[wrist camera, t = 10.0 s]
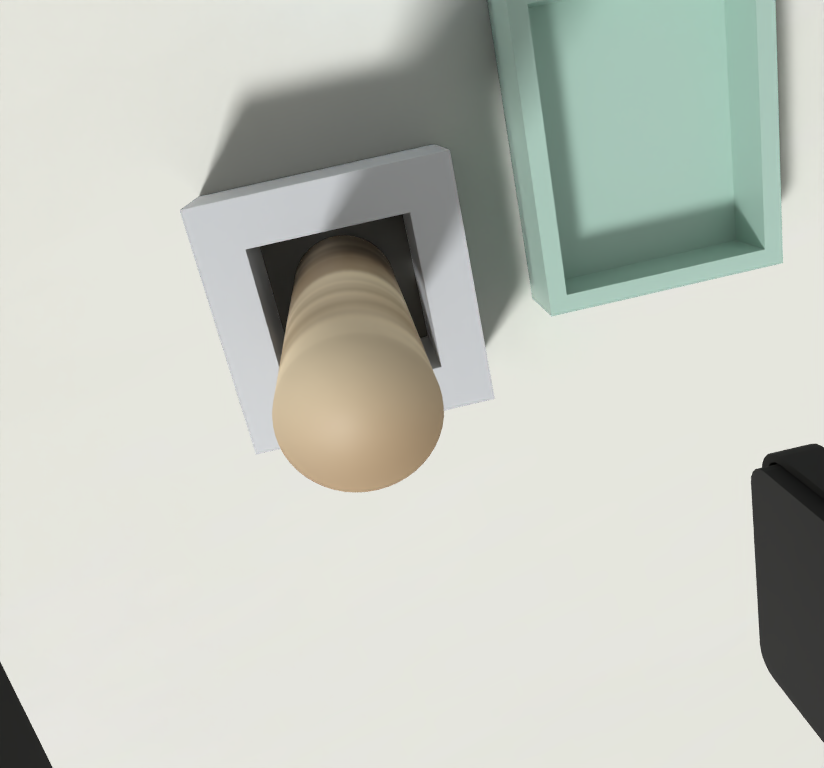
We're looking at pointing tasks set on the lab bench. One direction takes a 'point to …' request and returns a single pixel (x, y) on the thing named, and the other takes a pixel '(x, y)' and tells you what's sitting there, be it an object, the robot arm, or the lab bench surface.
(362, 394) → the dowel
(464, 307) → the socket block
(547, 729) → the lab bench surface
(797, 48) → the lab bench surface
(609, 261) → the tray
